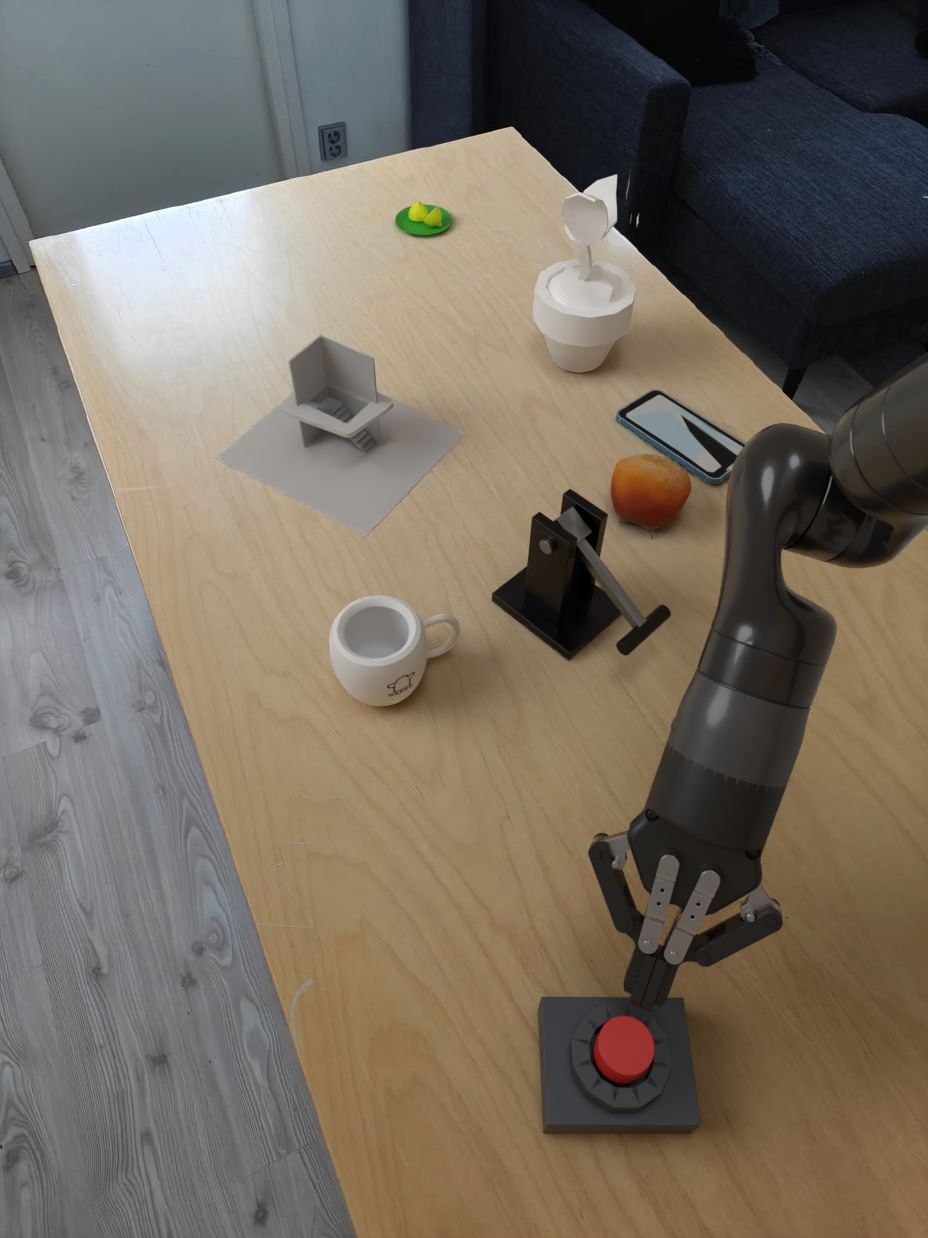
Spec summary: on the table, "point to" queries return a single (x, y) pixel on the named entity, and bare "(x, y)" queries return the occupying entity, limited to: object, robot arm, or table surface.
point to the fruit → (648, 490)
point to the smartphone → (682, 435)
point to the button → (624, 1049)
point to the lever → (613, 586)
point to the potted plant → (585, 286)
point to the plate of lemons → (423, 219)
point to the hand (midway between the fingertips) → (640, 1001)
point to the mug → (383, 648)
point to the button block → (597, 1102)
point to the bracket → (560, 583)
